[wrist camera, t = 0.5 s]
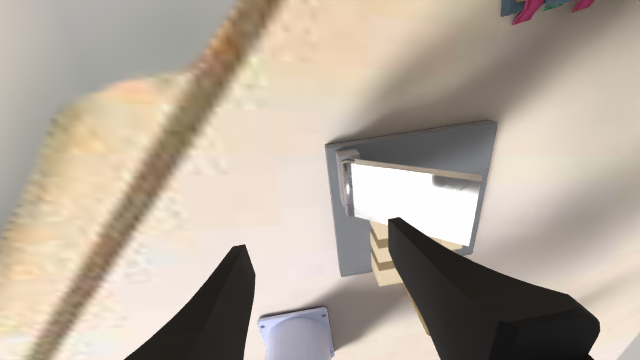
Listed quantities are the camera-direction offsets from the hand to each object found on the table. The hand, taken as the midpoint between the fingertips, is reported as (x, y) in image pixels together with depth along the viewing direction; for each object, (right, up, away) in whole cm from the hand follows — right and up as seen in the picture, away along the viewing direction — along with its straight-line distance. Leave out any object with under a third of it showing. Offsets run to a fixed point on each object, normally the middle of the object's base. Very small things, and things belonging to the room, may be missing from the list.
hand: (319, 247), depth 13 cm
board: (+8, +1, +11) cm, 14 cm away
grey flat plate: (+6, +2, +4) cm, 7 cm away
